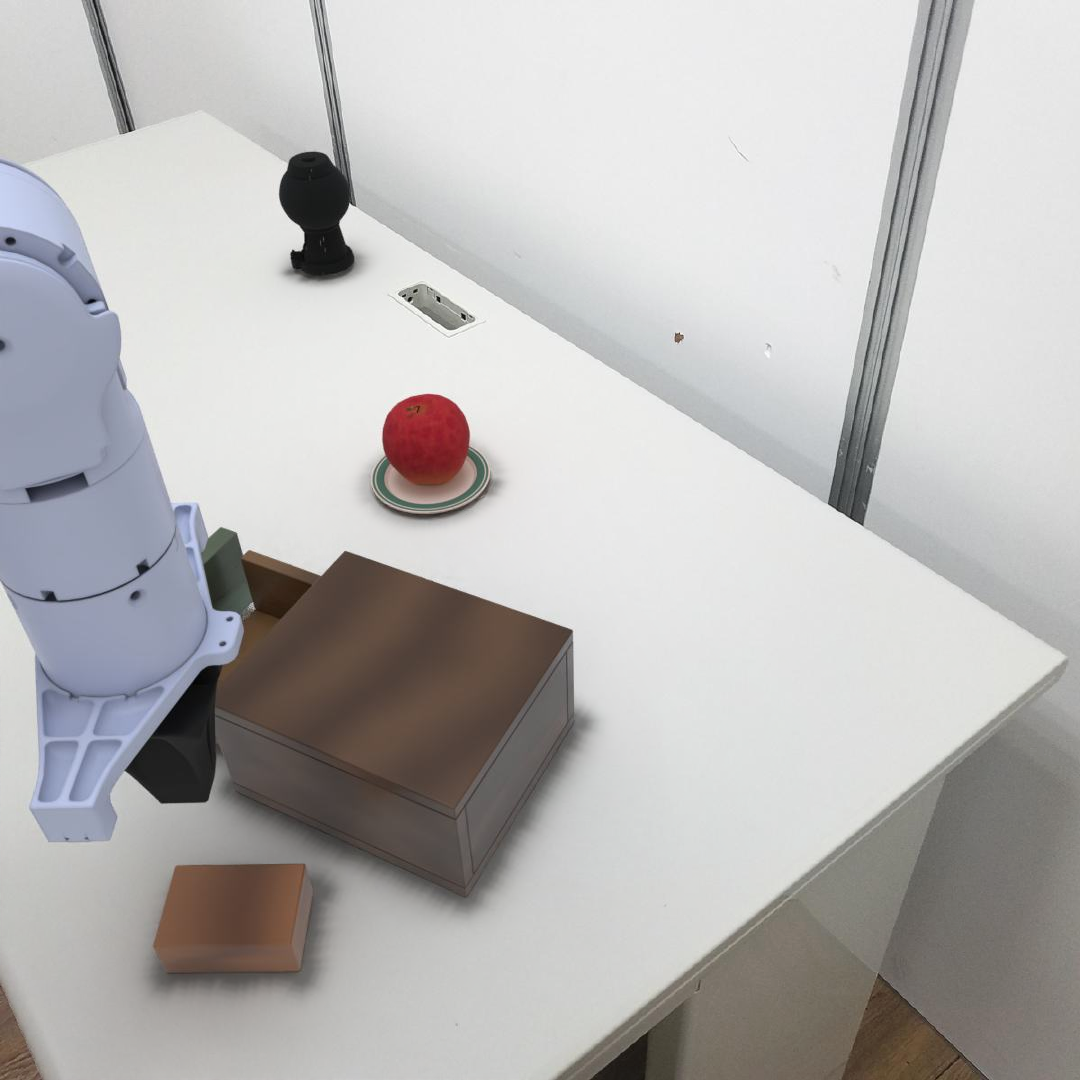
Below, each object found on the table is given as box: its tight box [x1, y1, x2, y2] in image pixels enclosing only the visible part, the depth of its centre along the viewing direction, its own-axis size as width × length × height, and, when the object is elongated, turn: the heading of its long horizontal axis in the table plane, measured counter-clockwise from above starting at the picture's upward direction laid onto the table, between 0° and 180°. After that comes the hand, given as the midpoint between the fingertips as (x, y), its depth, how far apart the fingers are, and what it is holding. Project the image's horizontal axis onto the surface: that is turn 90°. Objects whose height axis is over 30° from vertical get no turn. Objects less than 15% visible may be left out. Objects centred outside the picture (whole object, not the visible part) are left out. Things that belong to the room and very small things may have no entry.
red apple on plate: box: [370, 393, 491, 515], centre depth 73 cm, size 8×8×6 cm
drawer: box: [201, 526, 322, 746], centre depth 60 cm, size 17×10×5 cm, turn 63°
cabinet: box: [215, 550, 575, 898], centre depth 56 cm, size 14×12×7 cm
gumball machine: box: [278, 147, 355, 278], centre depth 95 cm, size 7×6×10 cm
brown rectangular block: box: [152, 863, 315, 974], centre depth 50 cm, size 6×4×2 cm, turn 90°
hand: (187, 789), depth 45 cm, fingers closed
